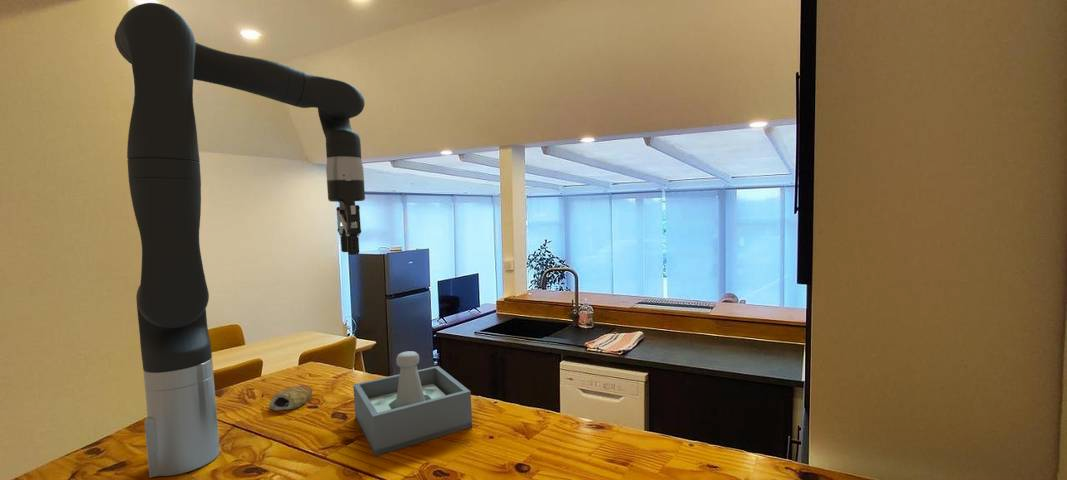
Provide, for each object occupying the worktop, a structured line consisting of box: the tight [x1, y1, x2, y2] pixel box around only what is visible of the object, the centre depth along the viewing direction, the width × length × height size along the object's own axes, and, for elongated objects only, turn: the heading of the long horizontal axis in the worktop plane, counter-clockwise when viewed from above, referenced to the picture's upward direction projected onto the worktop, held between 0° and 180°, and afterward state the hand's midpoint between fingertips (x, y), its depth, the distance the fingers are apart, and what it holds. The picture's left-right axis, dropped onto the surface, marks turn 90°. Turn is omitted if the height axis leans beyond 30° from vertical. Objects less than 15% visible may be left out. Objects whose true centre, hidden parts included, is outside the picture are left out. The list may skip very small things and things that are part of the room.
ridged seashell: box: [268, 385, 313, 411], centre depth 102 cm, size 9×7×4 cm
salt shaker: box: [395, 350, 425, 408], centre depth 89 cm, size 6×6×13 cm
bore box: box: [352, 365, 473, 457], centre depth 90 cm, size 18×18×7 cm
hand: (350, 253), depth 100 cm, fingers open, 8 cm apart
